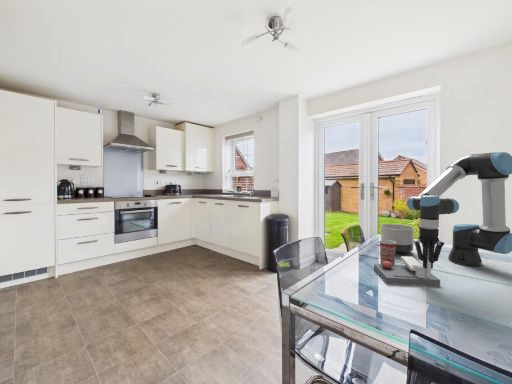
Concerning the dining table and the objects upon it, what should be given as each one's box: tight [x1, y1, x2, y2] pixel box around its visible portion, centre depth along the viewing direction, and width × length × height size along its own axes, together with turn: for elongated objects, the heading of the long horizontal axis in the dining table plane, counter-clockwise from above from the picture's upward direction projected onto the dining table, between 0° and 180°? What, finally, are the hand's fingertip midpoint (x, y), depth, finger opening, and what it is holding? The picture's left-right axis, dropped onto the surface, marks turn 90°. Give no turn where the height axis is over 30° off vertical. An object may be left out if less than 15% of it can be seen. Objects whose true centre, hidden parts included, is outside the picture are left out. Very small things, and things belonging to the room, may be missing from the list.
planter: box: [380, 223, 415, 254], centre depth 161 cm, size 19×19×18 cm
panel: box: [373, 263, 441, 287], centre depth 122 cm, size 24×18×5 cm
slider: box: [416, 265, 425, 278], centre depth 114 cm, size 3×3×5 cm
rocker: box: [400, 256, 422, 271], centre depth 124 cm, size 6×12×2 cm, turn 171°
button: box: [381, 261, 392, 268], centre depth 127 cm, size 4×4×2 cm
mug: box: [379, 239, 397, 265], centre depth 142 cm, size 13×9×14 cm
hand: (427, 274), depth 114 cm, fingers closed
